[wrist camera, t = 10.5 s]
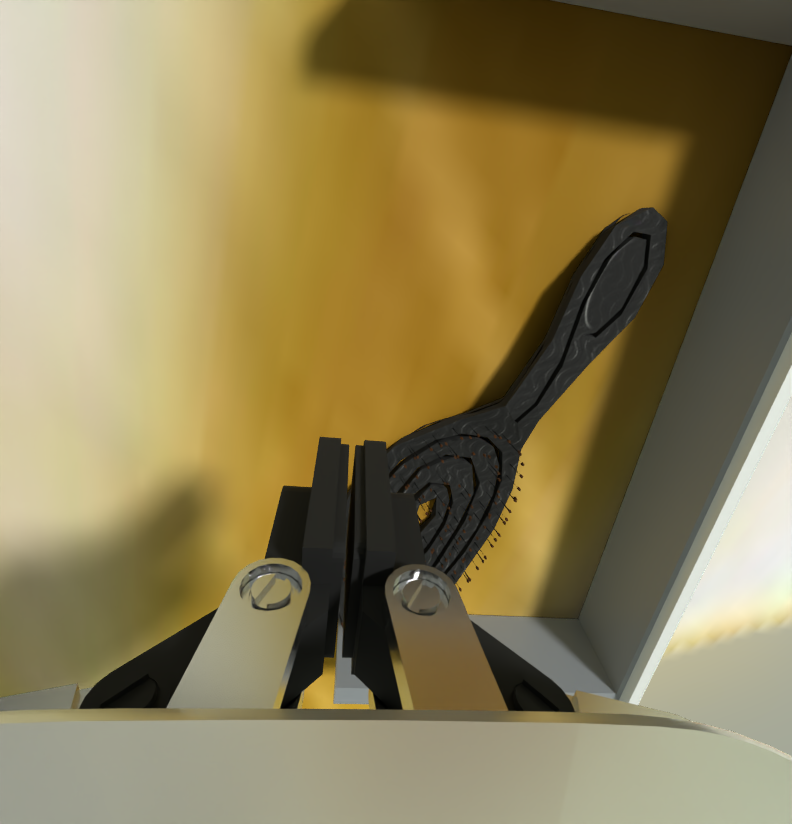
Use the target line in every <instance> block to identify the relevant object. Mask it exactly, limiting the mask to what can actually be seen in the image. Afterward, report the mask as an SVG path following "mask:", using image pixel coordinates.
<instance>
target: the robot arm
mask: <svg viewBox="0 0 792 824" xmlns="http://www.w3.org/2000/svg"><path fill="white" fill-rule="evenodd" d="M348 460H349V445H347V444H341V438H328V437H320V439H319V445H318V451H317V458H316V464H315V471H314V477H313V483H312V487H297V486H283V489H282V492H281V496H280V500H279V504H278V508H277V512H276V516H275V520H274V524H273V528H272V532H271V536H270V540H269V544H268V548H267V552H266V556H265V559H262V560H259V561H256V562H254V563H251V564H249V565H248V566H246V567H245V568H244V569H242V570H241V571H240V572H239V573H238V574H237V576H236V577H235V578H234V580H233V581H232V583H231V585H230V587H229V589H228V591H227V593H226V595H225V597H224V599H223V600H222V602H221V604H220V606H219V608H217V609H216V610H214V611H212V612H211V613H209V614H207V615H206V616H204V617H202V618H201V619H199V620H197V621H196V622H194V623H192V624H191V625H189V626H187V627H186V628H184V629H182V630H181V631H179V632H177V633H176V634H174V635H173V636H171V637H169V638H168V639H166V640H164V641H163V642H161V643H159V644H158V645H156V646H154V647H153V648H151V649H149V650H148V651H146V652H144V653H143V654H141V655H139V656H138V657H136V658H134V659H133V660H131V661H129V662H128V663H126V664H124V665H123V666H121V667H119V668H118V669H116V670H114V671H113V672H111V673H110V674H108V675H107V676H106V677H104V678H103V679H102V680H100V681H99V682H98V683H97V684H96V685H95V686H94V687H92V688H87V689H82V690H79V687H78V683H77V684H72V685H66V686H61V687H55V688H50V689H45V690H39V691H34V692H29V693H23V694H18V695H13V696H7V697H2V698H0V824H792V756H790V755H788V754H786V753H784V752H782V751H780V750H778V749H776V748H774V747H772V746H769V745H766V744H764V743H761V742H759V741H756V740H753V739H751V738H748V737H745V736H743V735H740V734H737V733H735V732H732V731H728V730H724V729H721V728H717V727H713V726H710V725H706V724H702V723H697V722H692V721H690V720H688V719H686V718H683V717H681V716H678V715H676V714H672V713H668V712H664V711H659V710H655V709H652V708H648V707H643V706H639V705H635V704H631V703H627V702H623V701H619V700H615V699H611V698H606V697H602V696H598V695H594V694H590V693H586V692H582V691H578V690H576V692H575V694H574V696H572V695H568V694H565V693H564V691H563V690H562V689H561V688H560V687H559V686H558V685H557V684H556V683H555V682H554V681H553V680H551V679H550V678H549V677H547V676H546V675H545V674H543V673H542V672H541V671H539V670H538V669H537V668H535V667H534V666H532V665H531V664H530V663H528V662H527V661H526V660H524V659H523V658H522V657H520V656H519V655H518V654H516V653H515V652H513V651H512V650H511V649H509V648H508V647H507V646H505V645H504V644H503V643H501V642H500V641H498V640H497V639H496V638H494V637H493V636H492V635H490V634H489V633H488V632H486V631H485V630H484V629H482V628H481V627H479V626H478V625H477V624H475V623H474V622H473V621H471V620H470V618H469V616H468V614H467V611H466V609H465V606H464V604H463V602H462V599H461V597H460V595H459V592H458V590H457V588H456V586H455V585H454V583H453V581H452V580H451V579H450V578H449V577H448V576H447V575H446V574H444V573H443V572H441V571H439V570H438V569H436V568H434V567H430V566H426V562H425V556H424V550H423V544H422V538H421V533H420V527H419V521H418V515H417V509H416V503H415V498H414V495H413V494H410V493H393V492H391V490H390V479H389V469H388V459H387V449H386V442H382V441H368V440H365V441H364V446H360V445H356V447H355V457H354V466H353V476H352V486H351V496H350V506H349V516H348V526H347V538H346V562H345V588H344V615H343V641H342V658H351V675H355V676H356V677H357V678H358V679H359V680H360V681H361V682H362V683H363V684H364V685H365V686H367V687H368V688H369V691H368V702H369V708H370V709H301V707H302V703H303V696H304V690H305V689H306V688H307V687H308V686H309V685H310V684H312V683H313V682H314V681H315V680H316V679H317V678H319V677H320V676H321V675H322V674H323V663H324V657H332V658H334V652H335V642H336V632H337V622H338V612H339V602H340V593H341V583H342V573H343V563H344V551H345V533H346V509H347V484H348Z"/></svg>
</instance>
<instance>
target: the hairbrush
mask: <svg viewBox="0 0 792 824" xmlns="http://www.w3.org/2000/svg"><path fill="white" fill-rule="evenodd" d="M625 215H627V214H625ZM623 216H624V215H623ZM621 217H622V216H621ZM621 217H620V218H621ZM620 218H619V219H620ZM619 219H617V220H616V221H614V222H613V223H611V224H610V225H609V226H607V227H606V228H604V230H603V231H602V233H601V234H600V236H599V237H598V239H597V240H596V242H595V243H594V245H593V246H592V248H591V249H590V251H589V252H588V254H587V255H586V256H585V258H584V259H583V261H582V262H581V264H580V265H579V267H578V268H577V270H576V271H575V273H574V274H573V276H572V278H571V281H570V283H569V285H568V287H567V290H566V292H565V294H564V296H563V299H562V301H561V303H560V305H559V308H558V310H557V312H556V314H555V317H554V319H553V321H552V323H551V326H550V328H549V330H548V332H547V335H546V337H545V339H544V340H543V342H542V343H541V344H540V346H539V347H538V349H537V350H536V352H535V353H534V354H533V356H532V357H531V359H530V360H529V362H528V363H527V365H526V366H525V367H524V369H523V370H522V372H521V373H520V375H519V376H518V377H517V379H516V380H515V382H514V383H513V385H512V386H511V388H510V389H509V390H508V392H507V393H506V395H505V396H504V397H503V398H501V399H498V400H496V401H493V402H491V403H488V404H486V405H483V406H481V407H478V408H476V409H473V410H471V411H468V412H466V413H463V414H459V415H456V416H453V417H449V418H446V419H442V420H439V421H436V422H438V423H436V424H434V425H431V426H429V427H426V428H424V429H421V428H423V427H424V426H426V425H424V426H422V427H420V428H419V429H421V430H419V429H417V430H419V431H417V430H416V431H417V432H415V431H414V432H412V433H411V434H409V435H407V436H404V437H403V438H401V439H400V440H399V441H397V442H396V443H395V444H394V445H393V446H391V447H390V448H389V449H388V450H387V459H388V469H389V479H390V490H391V492H393V493H410V494H413V495H414V498H415V503H416V509H417V511H418V508H419V505H421V504H423V503H426V502H427V501H430V500H432V499H434V498H436V497H437V498H436V501H435V503H434V506H433V509H432V510H431V509H430V508H429V507H428V508H429V511H430V512H431V515H429V516H430V518H429V519H428V520H427V519H426V520H427V521H425V522H424V523H423V524H421V525H420V526H419V527H420V533H421V538H422V544H423V550H424V556H425V562H426V566H430V567H434V568H436V569H438V570H439V571H441V572H443V573H444V574H446V575H447V576H448V577H449V578H450V579H451V580H452V581H453V583H454V585H455V584H456V582H457V581H458V579H459V578H460V577H461V575H462V574H463V572H465V570H466V568H467V567H468V565H469V564H470V562H471V561H473V558H474V557H475V555H476V554H478V553H477V552H478V551H479V550H480V548H481V547H482V545H483V544H484V542H485V541H486V540H488V539H487V538H488V537H489V535H490V534H491V533H492V531H493V530H495V526H496V523H497V521H498V519H499V517H500V515H501V513H502V511H503V508H504V506H505V504H506V502H507V500H508V498H509V495H510V493H511V491H512V489H513V484H514V480H515V475H516V471H517V466H518V461H519V457H520V456H521V449H522V447H523V445H524V444H525V442H526V441H527V439H528V437H529V436H530V434H531V432H532V431H533V429H534V428H535V426H536V424H537V423H538V421H539V420H540V419H541V418H542V416H543V415H544V414H545V413H546V412H547V411H548V410H549V409H550V407H551V406H552V405H553V404H554V403H555V402H556V401H557V400H558V398H559V397H560V396H561V395H562V394H563V393H564V392H565V391H566V389H567V388H568V387H569V386H570V385H571V384H572V383H573V382H574V380H575V379H576V378H577V377H578V376H579V375H580V374H581V373H582V371H583V370H584V369H585V368H586V367H587V366H588V365H589V364H590V363H591V362H592V361H593V360H594V359H595V358H596V357H597V356H598V355H599V354H600V352H601V351H602V350H603V349H604V348H605V347H606V346H607V345H608V344H609V343H610V342H611V341H612V340H613V339H614V338H615V337H616V336H617V335H618V334H619V333H620V332H621V331H622V330H623V329H624V328H625V327H626V326H627V325H628V324H629V323H630V322H631V321H632V320H633V319H634V318H635V316H636V315H637V313H638V311H639V309H640V307H641V305H642V304H643V302H644V300H645V298H646V296H647V294H648V293H649V291H650V289H651V287H652V285H653V283H654V281H655V280H656V278H657V276H658V274H659V272H660V270H661V269H662V267H663V265H664V255H665V244H666V233H667V221H666V220H665V219H664V218H663V217H662V216H661V215H660V214H659V213H658V212H657V211H656V210H655V209H654V208H641V209H639V210H637V211H636V212H634V213H633V214H631V215H630V216H628V217H627V218H625V219H624V220H622V221H621V222H619V223H618V224H616V225H615V226H614V224H615V223H616V222H617V221H618V220H619ZM632 233H642V234H641V236H642V238H638V237H631V236H630V235H631V234H632ZM433 423H435V422H433ZM430 424H432V423H430ZM427 425H428V424H427ZM485 437H488V438H489V439H490V440H491V441H492V442H493V443H494V444H495V446H496V447H497V449H498V452H499V461H500V468H501V470H500V473H499V462H498V459H497V456H496V453H495V449H494V447H493V446H492V445H491V443H490V441H489V440H488V439H487V438H485ZM444 455H446V456H444ZM463 457H465V458H466V457H467V458H471V459H472V462H473V465H474V468H475V477H476V488H475V490H473V471H472V465H471V463H470V462H468V461H467V460H466V459H464V458H463ZM404 458H405V459H404ZM402 459H404V460H403V461H402V462H400V461H401V460H402ZM399 462H400V463H399ZM398 463H399V464H398ZM397 464H398V465H397ZM396 465H397V466H396ZM521 465H522V466H524V463H523V462H522V463H521ZM395 466H396V467H395ZM394 467H395V468H394ZM418 467H419V468H418ZM393 468H394V469H393ZM417 468H418V469H417ZM416 469H417V470H416ZM415 470H416V471H415ZM414 471H415V472H414ZM497 475H498V477H497ZM519 476H520V477H521V478H523V476H522V475H519ZM496 479H497V482H496ZM495 483H496V484H495ZM443 484H444V485H446V484H447V485H449V486H450V488H451V497H450V502H449V496H448V492H447V488H446V487H445V486H444V485H443ZM517 489H518V490H519V491H520V490H521V489H520V488H519V487H518V488H517ZM416 492H417V493H416ZM350 496H351V489H350V490H349V492H348V493H347V509H346V533H345V551H344V563H343V573H342V583H341V593H340V602H339V612H338V620H339V622H340V624H341V626H342V628H343V615H344V588H345V562H346V538H347V526H348V516H349V506H350ZM510 496H511V495H510ZM511 497H512V496H511ZM512 498H513V497H512ZM513 499H514V502H516V501H517V498H516V497H514V498H513ZM470 500H471V501H470ZM489 501H490V502H489ZM469 502H470V503H469ZM448 503H449V506H448ZM488 503H489V504H488ZM468 504H469V506H468ZM426 505H427V504H426ZM487 505H488V506H487ZM421 506H422V505H421ZM427 506H428V505H427ZM467 506H468V508H467ZM422 507H423V506H422ZM486 507H487V508H486ZM505 507H506V506H505ZM447 508H448V509H447ZM466 508H467V510H466ZM506 508H507V507H506ZM423 509H424V508H423ZM446 509H447V510H448V511H447V512H446ZM507 509H508V508H507ZM508 511H509V513H511V510H509V509H508ZM425 512H426V511H425ZM445 512H446V514H445ZM464 512H465V513H464ZM426 515H428V513H427V512H426ZM444 515H445V516H444ZM502 515H503V514H502ZM418 518H419V516H418ZM500 519H501V517H500ZM501 520H502V519H501ZM505 520H506V521H508V519H507V518H505ZM419 521H420V522H421V523H422V520H421V519H420V518H419ZM502 521H503V520H502ZM503 523H504V525H505V524H506V522H505V521H503ZM495 531H496V530H495ZM496 532H497V531H496ZM497 534H498V536H500V534H499V533H498V532H497ZM491 535H492V534H491ZM500 537H501V536H500ZM494 540H495V541H497V539H496V538H494ZM489 543H490V542H489ZM490 544H491V543H490ZM490 546H491V547H492V548H493V547H494V546H493V545H492V544H491V545H490ZM480 551H481V550H480ZM482 554H483V553H482ZM478 555H479V554H478ZM479 557H480V556H479ZM480 558H481V557H480ZM484 558H485V559H487V558H486V556H485V555H484ZM481 560H482V558H481ZM482 562H483V563H484V560H482ZM473 563H474V562H473ZM476 569H477V570H479V568H478V567H477V566H476ZM465 574H466V572H465ZM464 576H465V575H464ZM466 576H467V577H468V575H467V574H466ZM466 579H467V578H466ZM469 581H471V579H470V578H469V577H468V580H467V582H468V583H469ZM457 585H458V584H457ZM458 587H459V586H458ZM459 590H460V591H461V588H460V587H459Z"/></svg>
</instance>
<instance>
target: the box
mask: <svg viewBox="0 0 792 824" xmlns="http://www.w3.org/2000/svg"><path fill="white" fill-rule="evenodd" d="M552 1H558V2H563V3H568V4H574V5H579V6H584V7H589V8H595V9H600V10H605V11H611V12H616V13H621V14H626V15H632V16H637V17H642V18H648V19H653V20H658V21H663V22H669V23H674V24H679V25H685V26H690V27H695V28H700V29H706V30H711V31H716V32H722V33H727V34H732V35H737V36H743V37H748V38H753V39H759V40H764V41H769V42H774V43H780V44H785V45H790V46H792V0H552ZM791 396H792V55H791V58H790V60H789V63H788V66H787V68H786V71H785V73H784V76H783V79H782V81H781V84H780V87H779V89H778V92H777V95H776V97H775V100H774V103H773V105H772V108H771V110H770V113H769V116H768V118H767V121H766V124H765V126H764V129H763V132H762V134H761V137H760V140H759V142H758V145H757V147H756V150H755V153H754V155H753V158H752V161H751V163H750V166H749V169H748V171H747V174H746V177H745V179H744V182H743V185H742V187H741V190H740V192H739V195H738V198H737V200H736V203H735V206H734V208H733V211H732V214H731V216H730V219H729V222H728V224H727V227H726V229H725V232H724V235H723V237H722V240H721V243H720V245H719V248H718V251H717V253H716V256H715V259H714V261H713V264H712V266H711V269H710V272H709V274H708V277H707V280H706V282H705V285H704V288H703V290H702V293H701V296H700V298H699V301H698V304H697V306H696V309H695V311H694V314H693V317H692V319H691V322H690V325H689V327H688V330H687V333H686V335H685V338H684V341H683V343H682V346H681V348H680V351H679V354H678V356H677V359H676V362H675V364H674V367H673V370H672V372H671V375H670V378H669V380H668V383H667V385H666V388H665V391H664V393H663V396H662V399H661V401H660V404H659V407H658V409H657V412H656V415H655V417H654V420H653V422H652V425H651V428H650V430H649V433H648V436H647V438H646V441H645V444H644V446H643V449H642V452H641V454H640V457H639V460H638V462H637V465H636V467H635V470H634V473H633V475H632V478H631V481H630V483H629V486H628V489H627V491H626V494H625V497H624V499H623V502H622V504H621V507H620V510H619V512H618V515H617V518H616V520H615V523H614V526H613V528H612V531H611V534H610V536H609V539H608V541H607V544H606V547H605V549H604V552H603V555H602V557H601V560H600V563H599V565H598V568H597V571H596V573H595V576H594V579H593V581H592V584H591V586H590V589H589V592H588V594H587V597H586V600H585V602H584V605H583V608H582V610H581V613H580V616H579V618H578V619H566V618H540V617H515V616H489V615H468V616H469V618H470V620H471V621H473V622H474V623H475V624H477V625H478V626H479V627H481V628H482V629H484V630H485V631H486V632H488V633H489V634H490V635H492V636H493V637H494V638H496V639H497V640H498V641H500V642H501V643H503V644H504V645H505V646H507V647H508V648H509V649H511V650H512V651H513V652H515V653H516V654H518V655H519V656H520V657H522V658H523V659H524V660H526V661H527V662H528V663H530V664H531V665H532V666H534V667H535V668H537V669H538V670H539V671H541V672H542V673H543V674H545V675H546V676H547V677H549V678H550V679H551V680H553V681H554V682H555V683H556V684H557V685H558V686H559V687H560V688H561V689H562V690H563V691H564V693H565V694H568V695H572V696H574V694H575V692H576V690H578V691H582V692H586V693H590V694H594V695H598V696H602V697H606V698H611V699H615V700H619V701H623V702H627V703H631V704H635V705H638V704H639V702H640V700H641V698H642V696H643V694H644V692H645V690H646V688H647V686H648V684H649V682H650V680H651V678H652V676H653V674H654V672H655V670H656V668H657V666H658V664H659V662H660V660H661V658H662V656H663V654H664V652H665V650H666V648H667V646H668V644H669V642H670V640H671V638H672V636H673V634H674V632H675V630H676V628H677V626H678V624H679V622H680V620H681V618H682V616H683V614H684V612H685V610H686V608H687V606H688V604H689V602H690V600H691V598H692V596H693V594H694V591H695V589H696V587H697V585H698V583H699V581H700V579H701V577H702V575H703V573H704V571H705V569H706V567H707V565H708V563H709V561H710V559H711V557H712V555H713V553H714V551H715V549H716V547H717V545H718V543H719V541H720V539H721V537H722V535H723V533H724V531H725V529H726V527H727V525H728V523H729V521H730V519H731V517H732V515H733V513H734V511H735V509H736V507H737V505H738V503H739V501H740V499H741V497H742V495H743V493H744V491H745V489H746V487H747V485H748V483H749V481H750V479H751V477H752V475H753V473H754V471H755V469H756V467H757V465H758V463H759V461H760V459H761V457H762V455H763V453H764V451H765V449H766V447H767V445H768V443H769V441H770V439H771V437H772V435H773V433H774V431H775V429H776V427H777V425H778V423H779V421H780V419H781V417H782V415H783V413H784V411H785V409H786V407H787V405H788V403H789V401H790V398H791ZM342 641H343V628H342V626H341V624H340V622H339V620H338V633H337V650H336V668H335V685H334V703H333V704H369V702H368V691H369V688H368V687H367V686H365V685H364V684H363V683H362V682H361V681H360V680H359V679H358V678H357V677H356V676H355V675H351V658H342Z"/></svg>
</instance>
